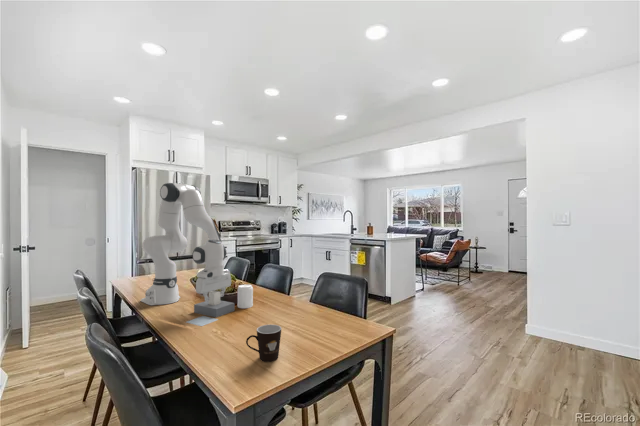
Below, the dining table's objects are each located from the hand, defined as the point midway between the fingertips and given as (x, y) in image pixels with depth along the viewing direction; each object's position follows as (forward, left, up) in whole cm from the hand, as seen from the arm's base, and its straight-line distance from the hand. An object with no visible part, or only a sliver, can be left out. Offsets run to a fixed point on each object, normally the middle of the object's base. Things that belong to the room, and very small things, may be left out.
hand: (214, 298), depth 153 cm
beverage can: (+7, +15, -8) cm, 18 cm away
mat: (+6, -12, -8) cm, 16 cm away
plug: (0, 0, -7) cm, 7 cm away
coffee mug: (+54, -26, -8) cm, 60 cm away
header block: (0, 0, -8) cm, 8 cm away
